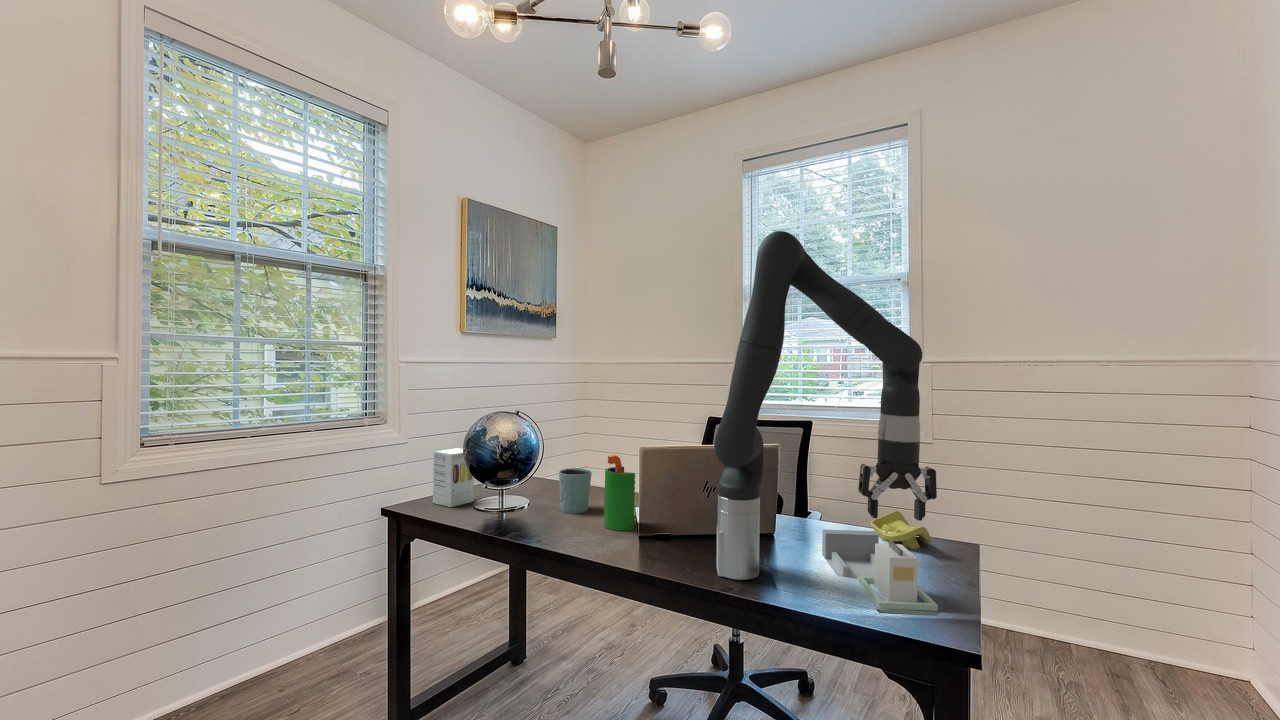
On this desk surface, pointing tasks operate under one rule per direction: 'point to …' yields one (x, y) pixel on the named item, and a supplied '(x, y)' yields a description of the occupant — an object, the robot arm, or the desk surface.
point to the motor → (619, 497)
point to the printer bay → (852, 566)
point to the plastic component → (899, 530)
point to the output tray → (927, 605)
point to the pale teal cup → (574, 490)
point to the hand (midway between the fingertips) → (895, 518)
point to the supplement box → (451, 479)
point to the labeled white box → (896, 572)
